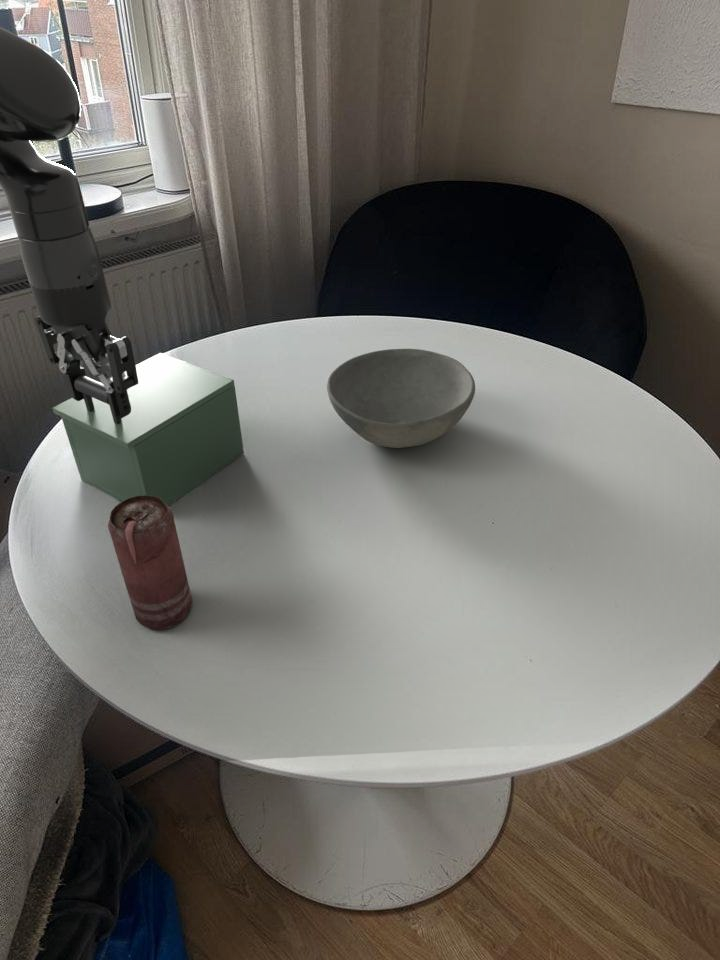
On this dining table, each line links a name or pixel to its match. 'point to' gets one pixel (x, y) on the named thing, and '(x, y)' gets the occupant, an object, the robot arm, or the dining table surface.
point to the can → (151, 561)
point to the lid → (144, 399)
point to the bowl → (401, 395)
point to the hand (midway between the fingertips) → (102, 406)
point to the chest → (162, 453)
